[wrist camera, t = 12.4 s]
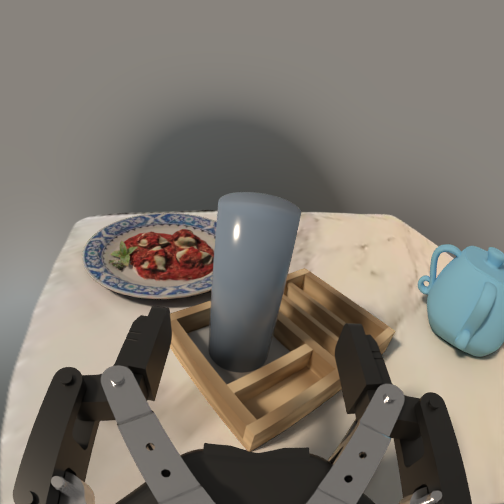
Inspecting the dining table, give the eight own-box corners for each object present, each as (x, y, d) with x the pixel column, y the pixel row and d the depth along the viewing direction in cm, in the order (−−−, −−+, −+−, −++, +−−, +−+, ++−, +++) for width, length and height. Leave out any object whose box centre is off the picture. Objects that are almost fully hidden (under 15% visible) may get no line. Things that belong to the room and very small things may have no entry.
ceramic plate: (229, 222, 59) (230, 208, 58) (268, 305, 38) (272, 286, 36) (100, 224, 52) (99, 210, 51) (67, 312, 31) (61, 293, 29)
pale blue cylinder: (244, 322, 32) (265, 189, 25) (280, 356, 28) (317, 215, 21) (197, 340, 29) (203, 196, 22) (230, 381, 25) (252, 228, 18)
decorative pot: (510, 365, 28) (557, 290, 22) (437, 369, 29) (493, 276, 22) (472, 303, 42) (502, 237, 36) (403, 293, 43) (434, 216, 36)
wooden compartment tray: (299, 289, 41) (304, 268, 40) (383, 352, 31) (395, 331, 30) (165, 340, 30) (163, 315, 28) (249, 452, 20) (254, 435, 18)
